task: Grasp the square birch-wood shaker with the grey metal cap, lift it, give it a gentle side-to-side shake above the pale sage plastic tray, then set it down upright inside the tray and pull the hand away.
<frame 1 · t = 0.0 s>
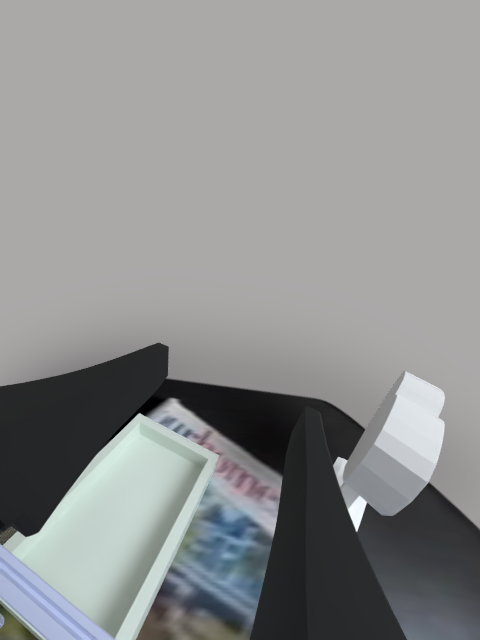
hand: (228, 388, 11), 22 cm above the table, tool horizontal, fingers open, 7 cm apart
heart sculpture: (340, 501, 28), on the table
tray: (128, 513, 23), on the table
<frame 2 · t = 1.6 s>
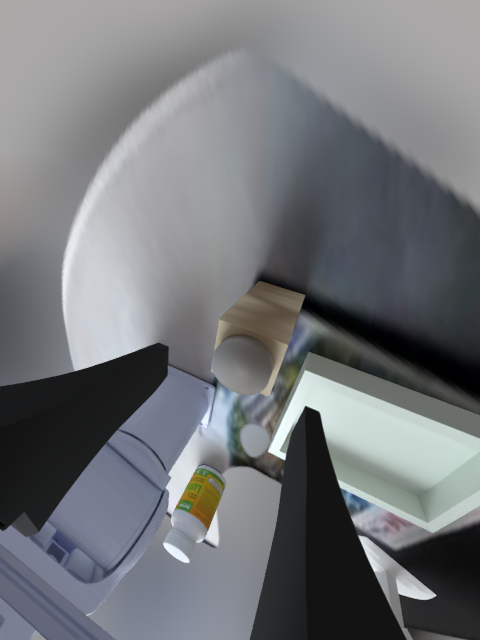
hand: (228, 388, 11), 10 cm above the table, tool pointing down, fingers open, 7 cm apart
heart sculpture: (383, 564, 30), on the table
shaker: (275, 308, 20), on the table
supplement bottle: (212, 474, 36), on the table
tray: (368, 429, 21), on the table
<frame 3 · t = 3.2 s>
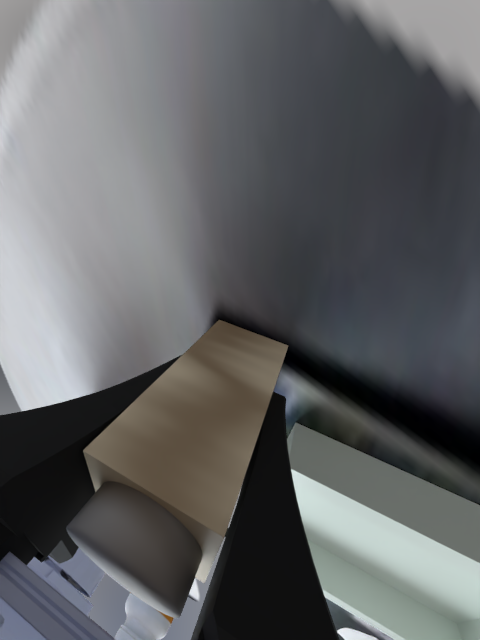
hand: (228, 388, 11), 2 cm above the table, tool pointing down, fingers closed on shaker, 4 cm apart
shaker: (245, 360, 13), on the table, touching gripper
supplement bottle: (184, 534, 30), on the table
tray: (384, 530, 15), on the table
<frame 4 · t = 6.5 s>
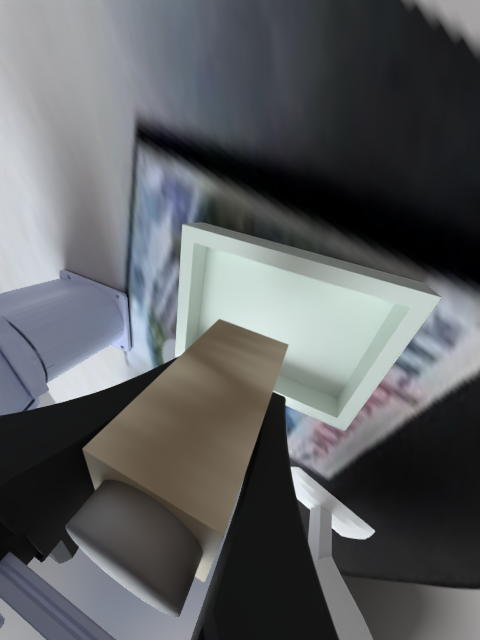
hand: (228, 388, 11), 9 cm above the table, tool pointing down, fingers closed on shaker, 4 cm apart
heart sculpture: (321, 501, 27), on the table
shaker: (245, 359, 13), point 7 cm above the table, touching gripper
tray: (277, 319, 19), on the table
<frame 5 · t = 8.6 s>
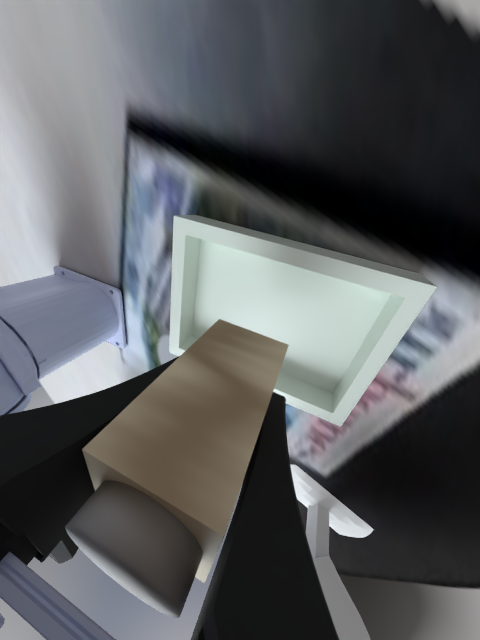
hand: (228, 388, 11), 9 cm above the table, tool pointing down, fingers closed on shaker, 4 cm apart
heart sculpture: (319, 499, 27), on the table
shaker: (245, 359, 13), point 7 cm above the table, touching gripper
tray: (272, 314, 19), on the table
when the fingers open (4 cm above the table, at t = 10.2 s): shaker stays where it is, resting on tray.
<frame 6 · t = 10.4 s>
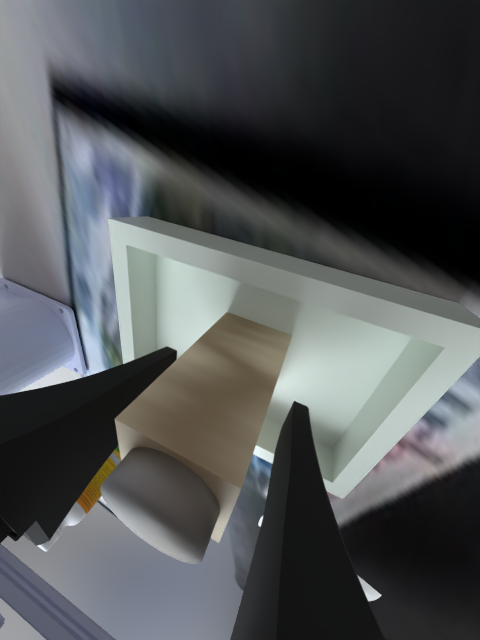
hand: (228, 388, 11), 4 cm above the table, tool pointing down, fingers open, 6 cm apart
shaker: (251, 350, 14), point 1 cm above the table, touching tray
supplement bottle: (117, 444, 29), on the table
tray: (253, 346, 14), on the table
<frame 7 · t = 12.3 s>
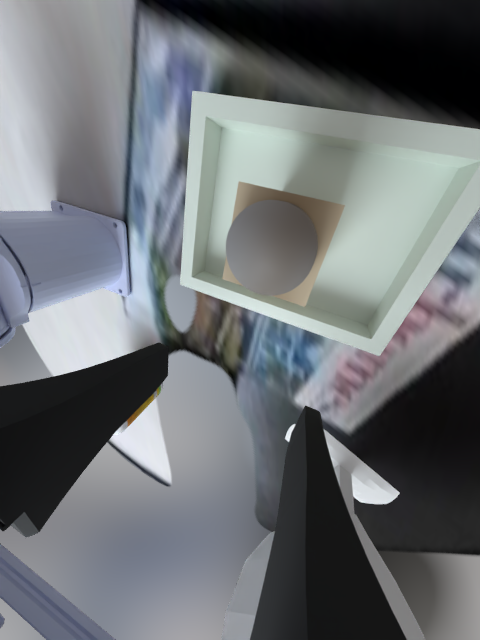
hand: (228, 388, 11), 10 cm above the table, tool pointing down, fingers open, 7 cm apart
heart sculpture: (339, 462, 25), on the table
shaker: (299, 231, 16), point 1 cm above the table, touching tray
supplement bottle: (149, 376, 31), on the table
tray: (300, 231, 16), on the table
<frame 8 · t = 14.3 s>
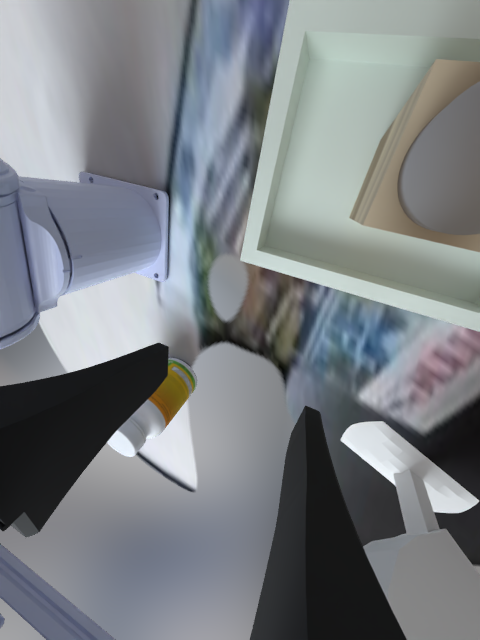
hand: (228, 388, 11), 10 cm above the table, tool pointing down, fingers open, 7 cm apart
heart sculpture: (405, 466, 22), on the table
shaker: (399, 188, 13), point 1 cm above the table, touching tray
supplement bottle: (180, 373, 28), on the table
tray: (395, 190, 13), on the table
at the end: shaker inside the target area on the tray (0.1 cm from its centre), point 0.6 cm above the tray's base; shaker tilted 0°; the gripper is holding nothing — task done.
